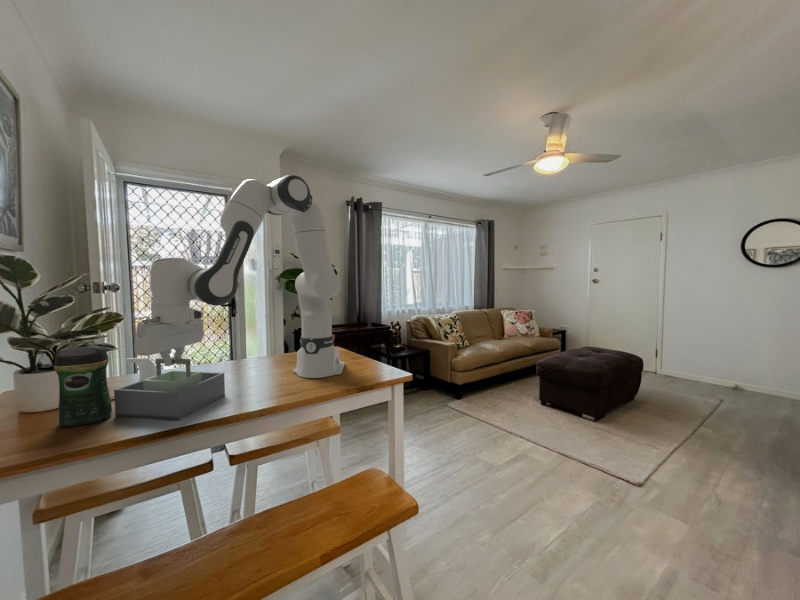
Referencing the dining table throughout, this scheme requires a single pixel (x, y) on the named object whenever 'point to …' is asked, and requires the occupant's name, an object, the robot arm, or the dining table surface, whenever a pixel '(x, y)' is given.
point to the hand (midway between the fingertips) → (173, 364)
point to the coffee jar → (82, 385)
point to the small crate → (172, 378)
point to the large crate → (168, 399)
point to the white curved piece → (144, 367)
